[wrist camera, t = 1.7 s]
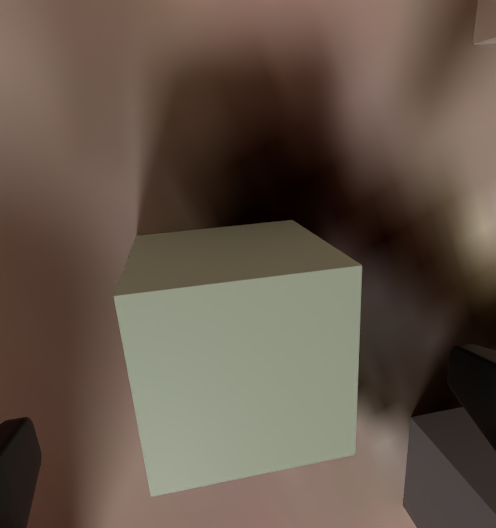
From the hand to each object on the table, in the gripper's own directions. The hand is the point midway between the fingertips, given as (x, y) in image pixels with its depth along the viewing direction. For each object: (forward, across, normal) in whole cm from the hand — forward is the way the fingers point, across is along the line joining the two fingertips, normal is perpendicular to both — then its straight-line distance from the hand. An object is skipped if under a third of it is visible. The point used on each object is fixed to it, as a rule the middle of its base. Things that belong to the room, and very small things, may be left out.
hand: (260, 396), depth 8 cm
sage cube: (+5, 0, 0) cm, 5 cm away
